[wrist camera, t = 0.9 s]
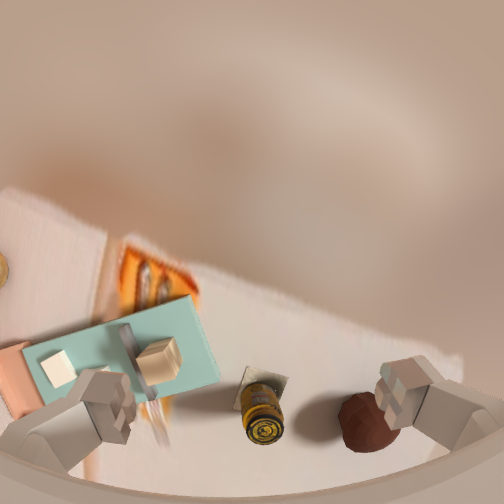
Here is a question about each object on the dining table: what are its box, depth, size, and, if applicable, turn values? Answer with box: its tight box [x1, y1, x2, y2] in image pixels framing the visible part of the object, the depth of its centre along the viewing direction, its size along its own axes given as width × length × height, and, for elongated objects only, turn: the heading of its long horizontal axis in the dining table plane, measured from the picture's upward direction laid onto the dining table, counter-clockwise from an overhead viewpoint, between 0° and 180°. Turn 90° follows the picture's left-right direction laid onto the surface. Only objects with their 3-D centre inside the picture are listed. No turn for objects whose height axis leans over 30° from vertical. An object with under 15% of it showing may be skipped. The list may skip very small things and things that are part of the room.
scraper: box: [118, 323, 183, 401], centre depth 40 cm, size 12×7×8 cm, turn 19°
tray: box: [0, 340, 46, 421], centre depth 44 cm, size 16×12×4 cm
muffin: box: [338, 392, 401, 453], centre depth 45 cm, size 12×11×10 cm
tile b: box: [40, 350, 78, 388], centre depth 42 cm, size 5×5×2 cm
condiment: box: [233, 367, 289, 445], centre depth 43 cm, size 7×8×12 cm
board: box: [22, 295, 220, 405], centre depth 45 cm, size 14×34×4 cm, turn 109°
